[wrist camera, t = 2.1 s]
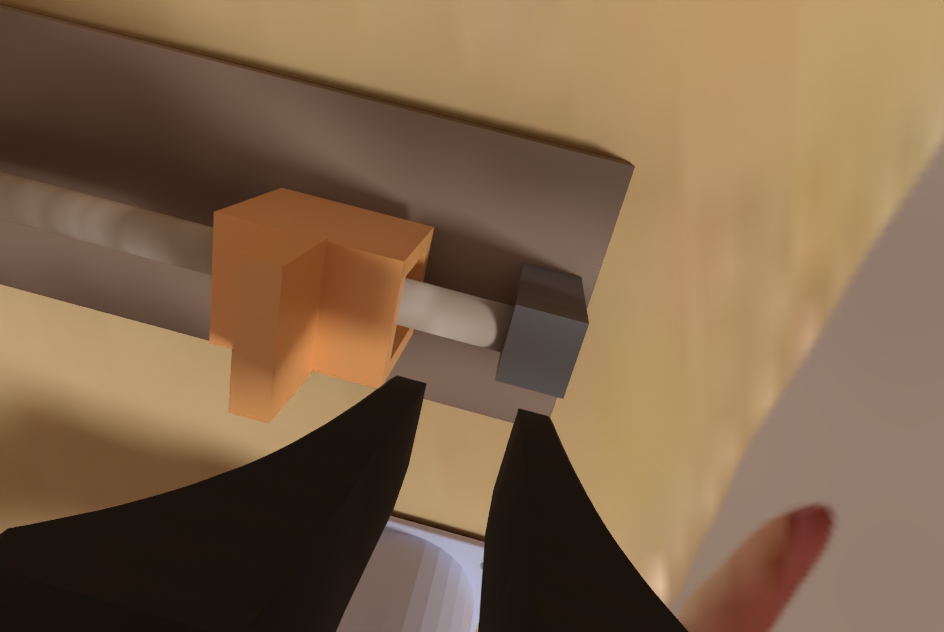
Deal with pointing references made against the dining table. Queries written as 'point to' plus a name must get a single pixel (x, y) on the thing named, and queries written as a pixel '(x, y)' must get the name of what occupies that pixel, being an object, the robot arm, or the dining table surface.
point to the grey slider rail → (303, 170)
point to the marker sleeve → (309, 294)
